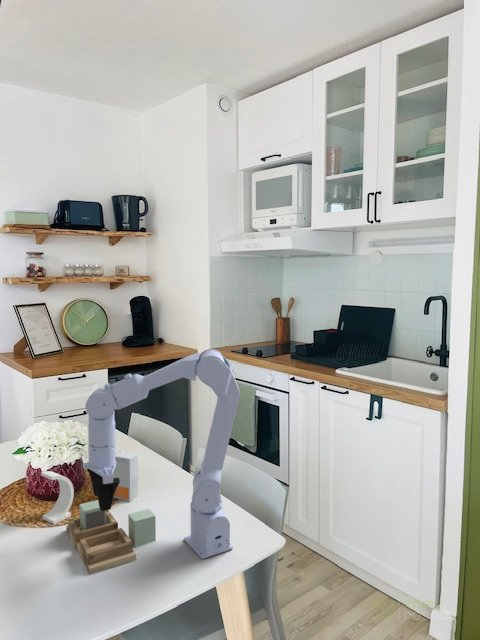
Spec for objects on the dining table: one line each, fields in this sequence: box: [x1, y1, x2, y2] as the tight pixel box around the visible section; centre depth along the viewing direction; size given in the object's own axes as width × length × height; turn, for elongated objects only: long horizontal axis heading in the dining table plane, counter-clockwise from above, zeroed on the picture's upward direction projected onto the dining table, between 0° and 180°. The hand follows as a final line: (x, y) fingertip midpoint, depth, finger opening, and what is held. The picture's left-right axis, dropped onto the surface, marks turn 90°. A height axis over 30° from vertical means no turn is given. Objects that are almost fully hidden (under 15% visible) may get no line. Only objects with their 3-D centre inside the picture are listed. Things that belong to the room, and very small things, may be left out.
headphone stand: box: [40, 470, 75, 525], centre depth 128 cm, size 5×6×12 cm
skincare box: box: [113, 450, 139, 502], centre depth 139 cm, size 6×4×12 cm
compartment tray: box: [65, 510, 137, 575], centre depth 115 cm, size 20×10×3 cm, turn 32°
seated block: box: [78, 499, 106, 531], centre depth 119 cm, size 4×5×6 cm
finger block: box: [127, 508, 157, 547], centre depth 118 cm, size 4×5×6 cm
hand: (102, 502), depth 114 cm, fingers open, 7 cm apart
